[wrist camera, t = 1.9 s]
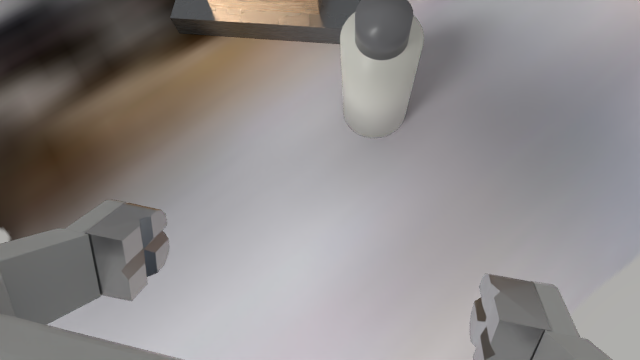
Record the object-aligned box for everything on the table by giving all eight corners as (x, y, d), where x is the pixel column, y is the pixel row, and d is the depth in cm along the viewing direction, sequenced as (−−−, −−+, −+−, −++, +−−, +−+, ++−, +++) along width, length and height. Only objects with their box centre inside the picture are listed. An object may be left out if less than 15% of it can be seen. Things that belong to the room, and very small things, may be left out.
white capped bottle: (339, 134, 33) (333, 49, 23) (346, 80, 35) (344, -24, 24) (403, 140, 32) (427, 55, 22) (407, 85, 34) (432, -20, 24)
